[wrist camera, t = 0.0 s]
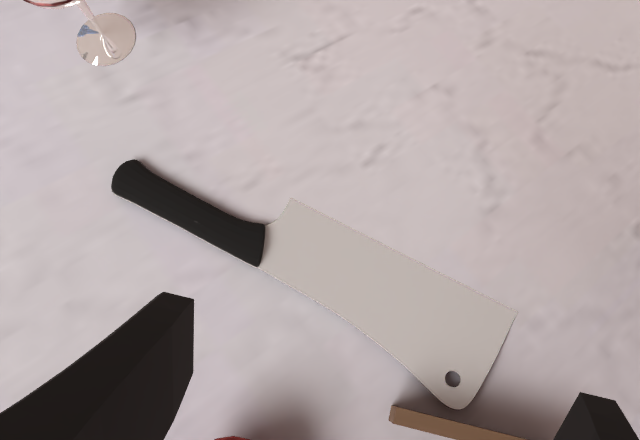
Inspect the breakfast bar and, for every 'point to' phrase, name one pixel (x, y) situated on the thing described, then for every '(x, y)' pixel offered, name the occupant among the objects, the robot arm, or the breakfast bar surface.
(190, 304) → the robot arm
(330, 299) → the kitchen cleaver
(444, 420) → the box
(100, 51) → the wineglass
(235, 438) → the onion
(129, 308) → the breakfast bar surface
